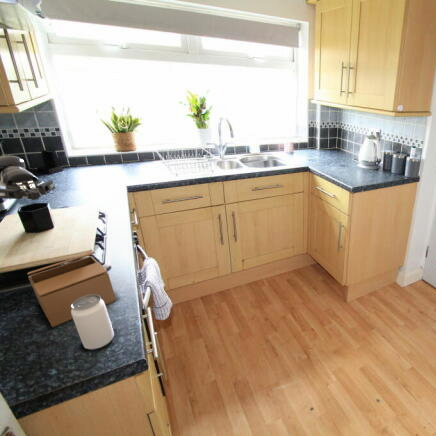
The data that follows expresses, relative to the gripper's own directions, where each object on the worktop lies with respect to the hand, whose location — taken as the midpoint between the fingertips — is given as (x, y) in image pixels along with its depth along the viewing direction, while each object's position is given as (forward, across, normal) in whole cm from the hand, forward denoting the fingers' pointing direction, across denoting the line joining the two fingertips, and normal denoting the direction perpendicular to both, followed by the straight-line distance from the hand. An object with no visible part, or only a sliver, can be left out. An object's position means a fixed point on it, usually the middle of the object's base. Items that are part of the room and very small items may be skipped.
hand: (34, 196), depth 87 cm
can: (+32, +1, -30) cm, 44 cm away
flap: (+7, 0, -18) cm, 20 cm away
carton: (+11, 0, -30) cm, 32 cm away
